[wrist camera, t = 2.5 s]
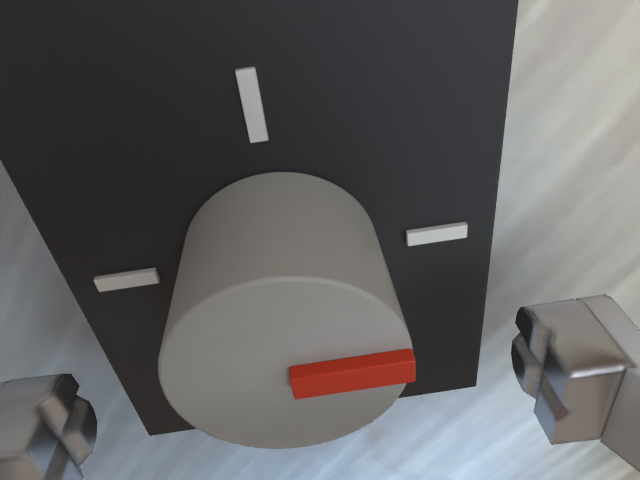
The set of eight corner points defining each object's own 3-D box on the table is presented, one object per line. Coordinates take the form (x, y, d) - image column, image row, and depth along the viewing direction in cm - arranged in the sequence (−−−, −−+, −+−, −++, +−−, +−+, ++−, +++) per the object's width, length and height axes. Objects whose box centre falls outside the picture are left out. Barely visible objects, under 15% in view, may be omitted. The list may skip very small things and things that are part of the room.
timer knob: (210, 336, 13) (194, 479, 10) (159, 187, 10) (113, 316, 7) (380, 310, 13) (418, 445, 10) (371, 156, 10) (419, 270, 7)
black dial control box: (-3, -22, 10) (-91, 6, 8) (466, -88, 10) (533, -82, 8) (165, 359, 17) (148, 441, 15) (447, 317, 17) (478, 391, 15)
